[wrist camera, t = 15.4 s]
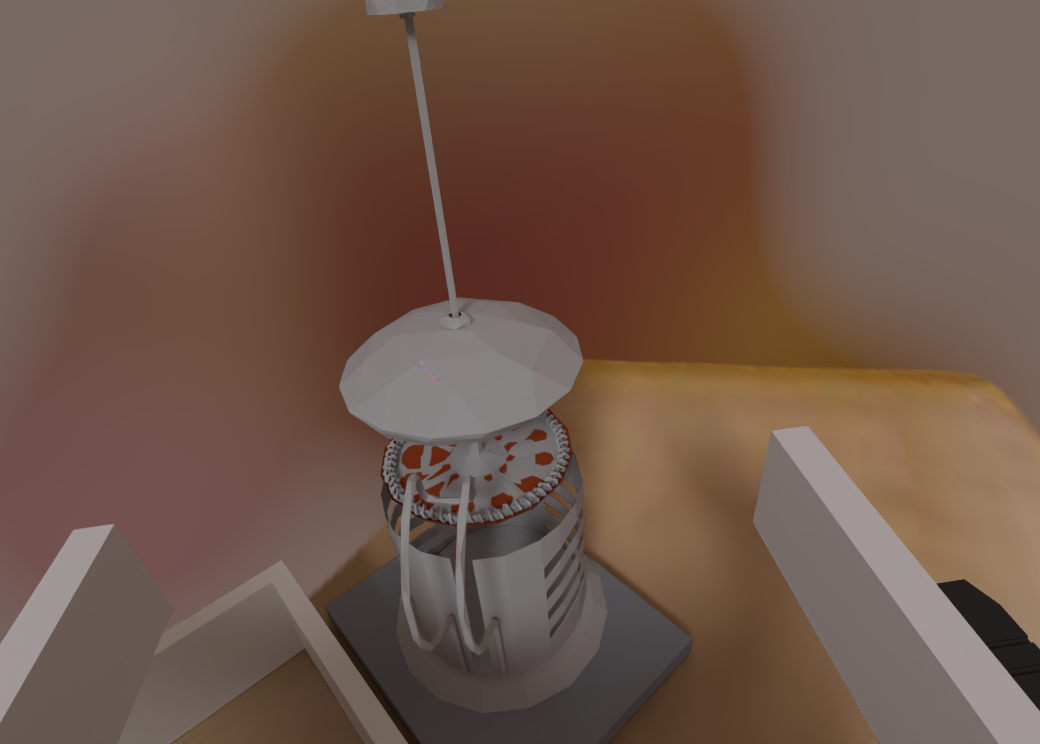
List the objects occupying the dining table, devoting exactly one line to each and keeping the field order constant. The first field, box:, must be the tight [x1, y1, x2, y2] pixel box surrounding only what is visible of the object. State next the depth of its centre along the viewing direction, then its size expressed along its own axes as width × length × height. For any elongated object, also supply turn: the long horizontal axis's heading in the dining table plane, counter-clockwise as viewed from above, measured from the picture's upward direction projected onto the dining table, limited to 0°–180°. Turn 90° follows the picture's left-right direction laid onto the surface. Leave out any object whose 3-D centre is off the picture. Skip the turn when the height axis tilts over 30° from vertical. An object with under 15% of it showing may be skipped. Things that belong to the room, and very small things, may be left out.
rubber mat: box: [325, 523, 693, 744], centre depth 28 cm, size 13×11×1 cm
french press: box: [339, 0, 607, 713], centre depth 20 cm, size 10×12×25 cm
